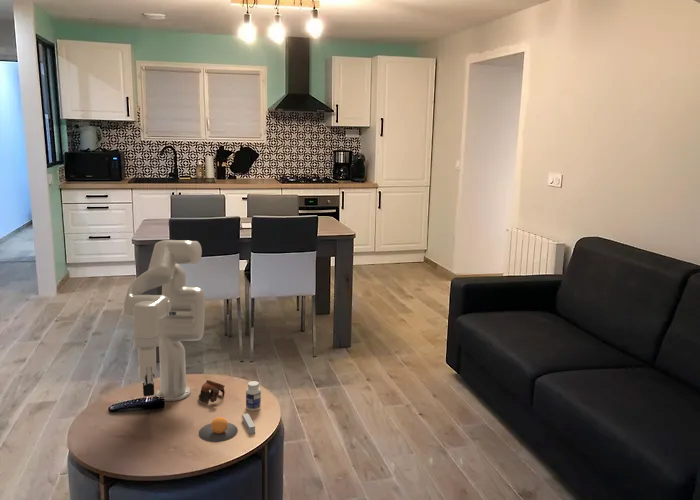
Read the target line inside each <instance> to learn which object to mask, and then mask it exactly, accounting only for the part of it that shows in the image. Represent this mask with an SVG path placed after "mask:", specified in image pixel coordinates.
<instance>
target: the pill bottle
mask: <svg viewBox="0 0 700 500" xmlns="http://www.w3.org/2000/svg"><path fill="white" fill-rule="evenodd" d="M261 393H262V391H261V388H260V382H259V381H256V380H253V381H252V380H251V381H248V383H247V388H246V390H245V408H246V409H247V410H249V411H258V410H260V409H261V397H262V396H261V395H262V394H261Z"/></svg>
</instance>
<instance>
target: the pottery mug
mask: <svg viewBox="0 0 700 500" xmlns="http://www.w3.org/2000/svg"><path fill="white" fill-rule="evenodd" d="M224 388H225V385H224V384H222V383H219V382H216V381H212V380H210V379H207V380H206V381H205V383H203V384H202V385H201V389H200V392H199V394H198V401H200V402H201V403H203V404H207V405H209V401H210V402H212V403H214V402H216V401H217V399H218V396H219V393H220V392H221V393H222V394H221V396H222V397H225V395H226V394H225V393H226V391H225V389H224Z"/></svg>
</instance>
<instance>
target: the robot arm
mask: <svg viewBox="0 0 700 500" xmlns="http://www.w3.org/2000/svg"><path fill="white" fill-rule="evenodd" d="M202 250H203V249H202V246H201V243H200V242H199V241H198V240H187V239H186V240H185V239H183V240H181V239H180V240H178V239H177V240H176V239H163V240H160V241H157V242H156V243H155V244H154V248H153V250H152V254H151V258H150V262H149V265H148V269H147V270H146V271H145V272H143V273H141V274H140V275H139V276H138V277H136V278H135V279H134V280H132V282H131V283H130V284H129V286H128V288H127V291H126V294H125V298H124V302H123V311H124V314H125V316H127V317H128V318H131V319H133V320H132V321H133V343H134V348H136V349H137V373H138V378H139V379H140V380H143V382H142V390H143V391H142V392H143V394H142V395H143V397H149V396H150V397H151V396H154V395H155V393H156V398H157V397H164V399H165V400H164V401H165V402H175V401H180V400H183V399H185V398H187V397H188V396H190V395H191V387H189V386H187V375H186V374H187V373H186V372H187V371H186V370H187V369H186V368H187V367H186V366H187V365H186V349H185V346H184V345H183V343H182V342H185V341H187V342H195V341H200V340H202V339H203V337H204V334H205V333H204V332H205V313H206V312H205V309H206V308H205V306H206V299H205V298H206V297H205V292H204V290H203V289H202V288H200V287H196V286H186V282H187V281H186V279H187V278H186V277H187V275H186V272H185V270H184V269H183V267H182V266H181V265H183V264H184V265H195V264H198V263H199V262H200V260H201V258H202V254H203V253H202V252H203V251H202ZM180 264H181V265H180ZM159 287H161V294H143V293H145V292H147V291H150V290H153V289H155V288H159ZM170 312H171V313H173V312H174V313H191V315H182V314H181V315H178V314H177V315H176V314H175V315H169V313H170ZM157 347H158V350H159V351H158V352H159V354H158V355H159V382H160V383H159V384H160V386H159V387H160V388H159V389H157V390H156V392H155V382H154V379H155V378H156V377H157Z"/></svg>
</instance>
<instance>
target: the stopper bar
mask: <svg viewBox="0 0 700 500" xmlns="http://www.w3.org/2000/svg"><path fill="white" fill-rule="evenodd" d="M242 422H243V423H242V424H243V425H244V426H245V428H246V430H247V432H248V435H252V434H256V425H255V424H254V421H253V420H252V418H251V416H250V413H248V412H247V413H242Z"/></svg>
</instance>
